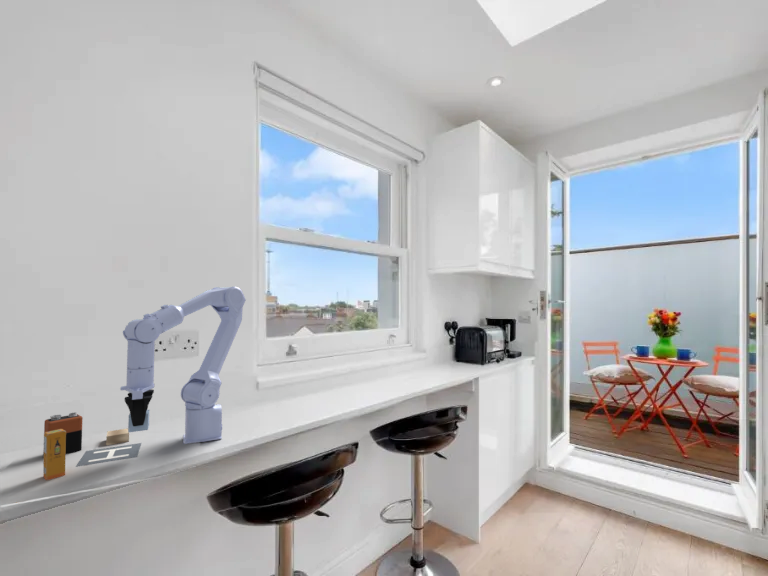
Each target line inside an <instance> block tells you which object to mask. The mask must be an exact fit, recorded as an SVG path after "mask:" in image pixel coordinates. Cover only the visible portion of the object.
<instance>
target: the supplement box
mask: <svg viewBox="0 0 768 576" xmlns="http://www.w3.org/2000/svg"><path fill="white" fill-rule="evenodd" d="M43 450H44V455H43V473H42V475H43V478H44V480H45V481H50V480H53V479H57V478H61V477H64V476H66V455H65V453H66V431H65V430H63V429H58V430H54V431H49V432H45V433H44V432H43Z"/></svg>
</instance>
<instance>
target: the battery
mask: <svg viewBox="0 0 768 576" xmlns="http://www.w3.org/2000/svg"><path fill="white" fill-rule="evenodd" d="M58 429H63V430H65V431H66V453H65V456H66V455H69V454H73V453H77V452H81V451H82V447H83V446H82V445H83V444H82V443H83V416H81V414H78V413H77V412H69V413H68V414H67V415H63V416H62V415H61V414H54V415H50V418H47V419H45V420H44V429H43V434H44V433H45V432H49V431H54V430H58ZM42 453H43V456H44V449H43V452H42Z"/></svg>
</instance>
